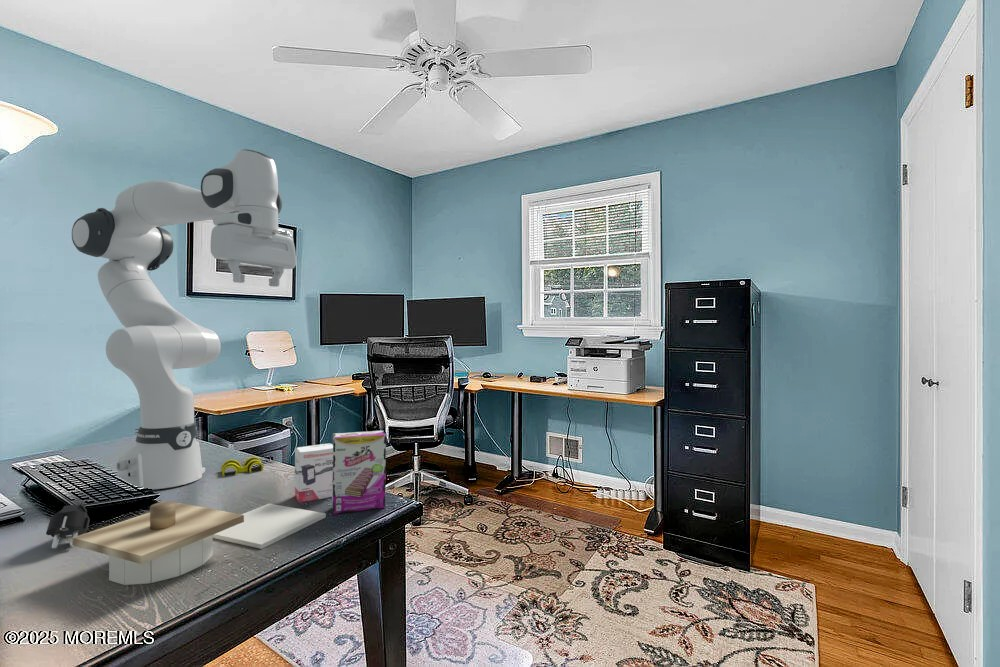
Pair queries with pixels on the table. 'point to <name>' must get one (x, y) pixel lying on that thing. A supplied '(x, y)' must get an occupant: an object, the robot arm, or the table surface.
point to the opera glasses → (237, 465)
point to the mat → (268, 525)
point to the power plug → (68, 523)
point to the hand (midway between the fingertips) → (257, 284)
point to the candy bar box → (358, 471)
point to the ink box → (313, 472)
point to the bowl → (161, 564)
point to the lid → (157, 531)
